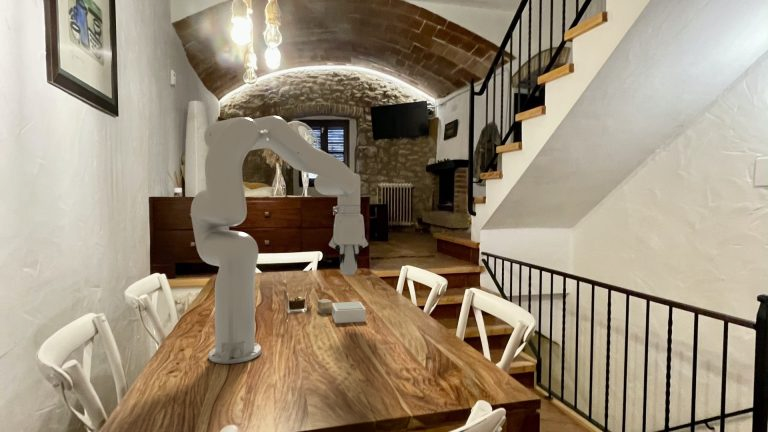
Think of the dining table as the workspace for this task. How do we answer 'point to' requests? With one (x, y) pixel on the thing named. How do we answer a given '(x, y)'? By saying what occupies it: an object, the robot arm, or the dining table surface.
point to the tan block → (324, 306)
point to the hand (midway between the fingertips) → (348, 264)
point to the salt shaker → (348, 261)
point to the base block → (348, 312)
